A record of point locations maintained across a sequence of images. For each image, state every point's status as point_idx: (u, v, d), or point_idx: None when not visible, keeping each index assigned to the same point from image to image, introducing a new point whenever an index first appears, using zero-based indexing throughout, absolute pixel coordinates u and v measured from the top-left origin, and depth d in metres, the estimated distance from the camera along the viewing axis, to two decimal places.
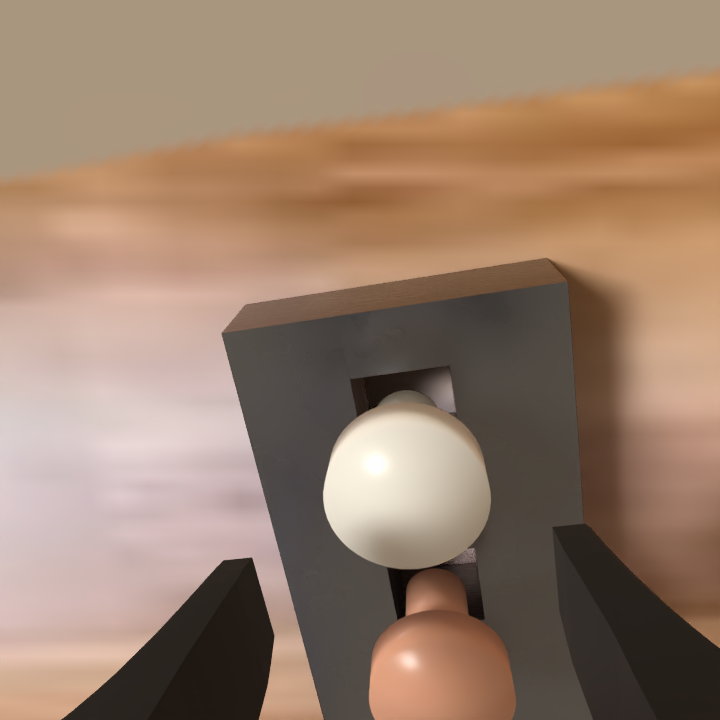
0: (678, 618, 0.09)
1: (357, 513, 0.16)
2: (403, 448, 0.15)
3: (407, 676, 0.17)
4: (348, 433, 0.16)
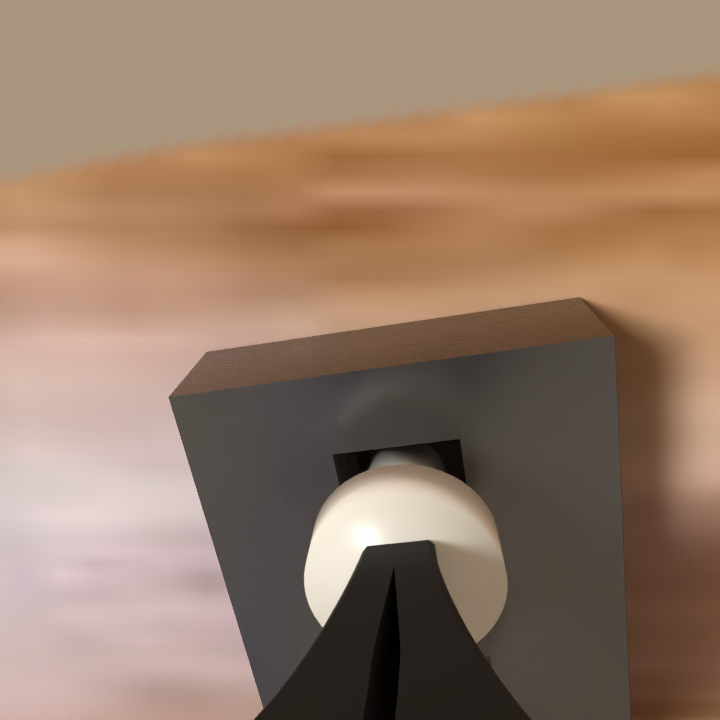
0: (464, 636, 0.09)
1: None
2: (401, 526, 0.12)
3: None
4: (334, 503, 0.13)
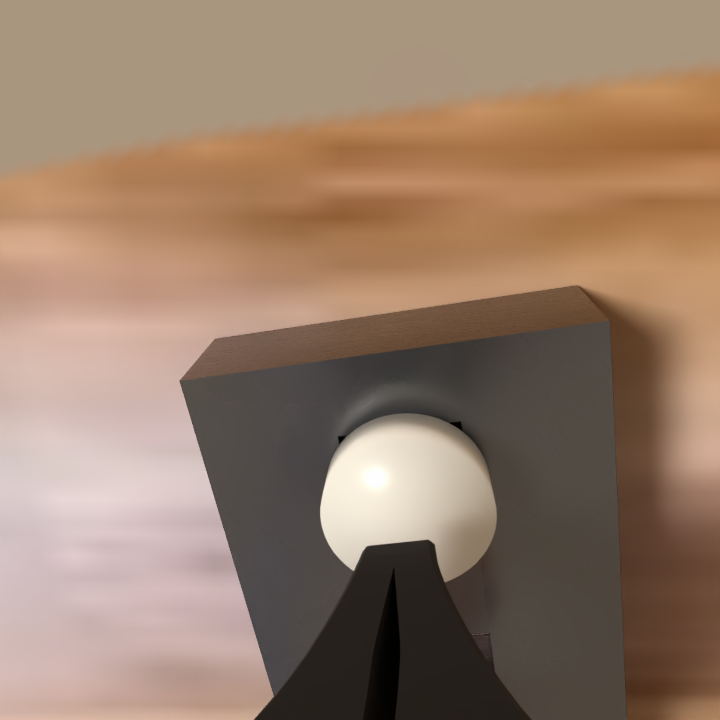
0: (464, 635, 0.09)
1: (356, 531, 0.15)
2: (404, 463, 0.14)
3: None
4: (346, 446, 0.15)
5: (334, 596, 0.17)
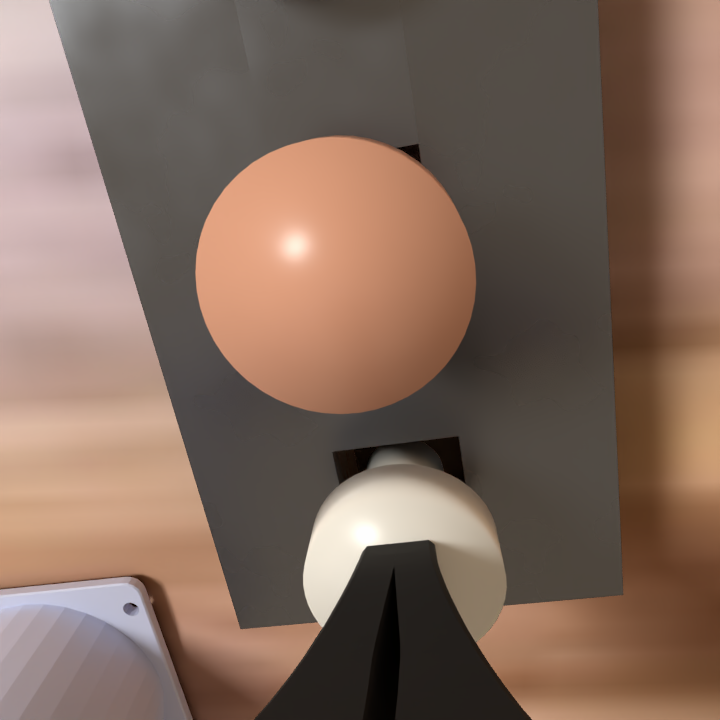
0: (464, 635, 0.09)
1: None
2: None
3: (264, 225, 0.09)
4: None
5: (202, 90, 0.13)
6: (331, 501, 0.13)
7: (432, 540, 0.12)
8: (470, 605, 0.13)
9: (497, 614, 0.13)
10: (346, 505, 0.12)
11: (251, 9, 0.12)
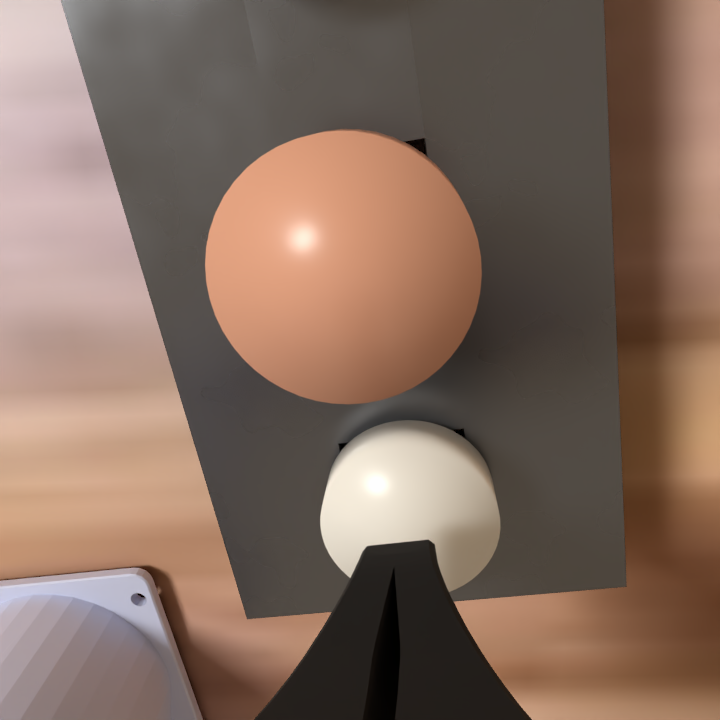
0: (464, 636, 0.09)
1: None
2: None
3: (272, 218, 0.09)
4: None
5: (210, 85, 0.13)
6: (346, 453, 0.15)
7: (435, 485, 0.14)
8: (468, 544, 0.14)
9: (492, 552, 0.14)
10: (359, 454, 0.14)
11: (259, 4, 0.12)
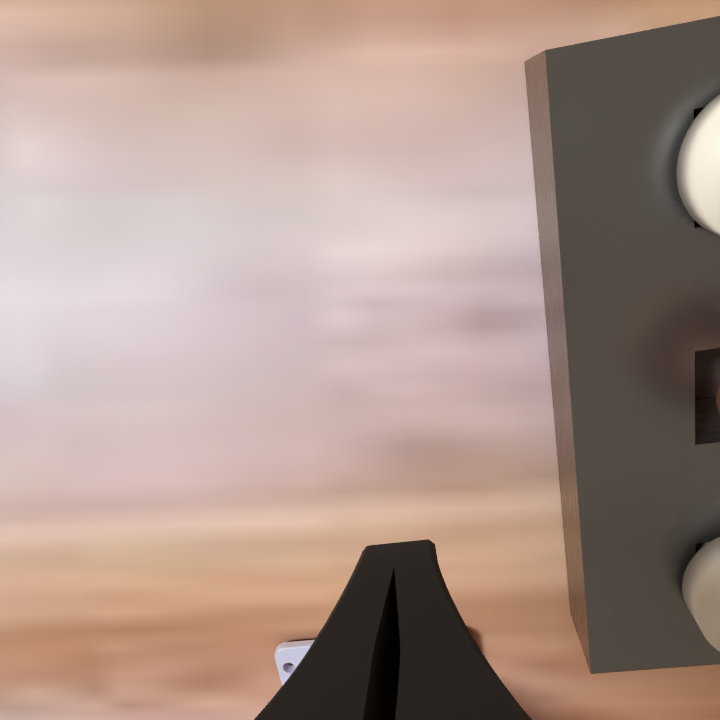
0: (464, 635, 0.09)
1: None
2: None
3: None
4: None
5: (656, 299, 0.18)
6: (713, 553, 0.20)
7: None
8: None
9: None
10: None
11: (704, 249, 0.17)
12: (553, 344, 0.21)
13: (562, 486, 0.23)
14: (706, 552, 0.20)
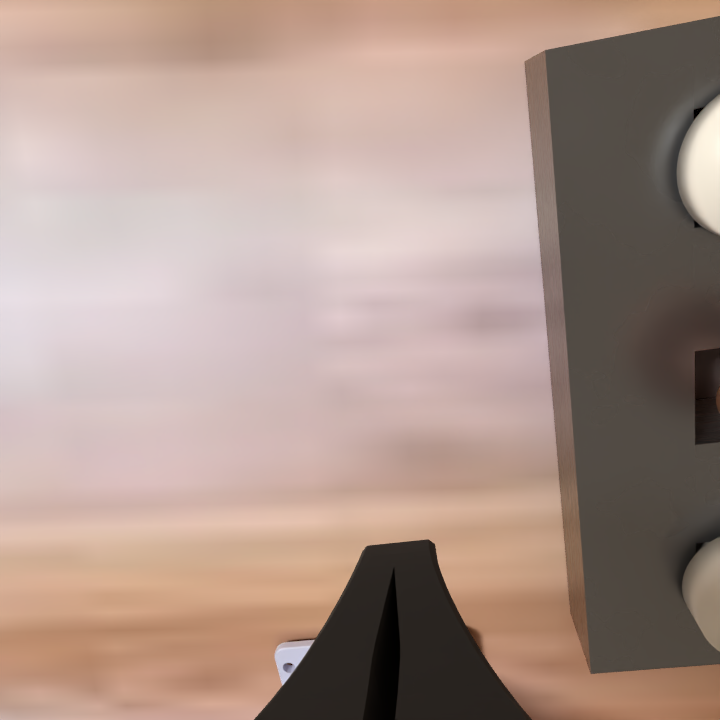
0: (464, 635, 0.09)
1: None
2: None
3: None
4: None
5: (656, 299, 0.18)
6: (713, 553, 0.20)
7: None
8: None
9: None
10: None
11: (704, 249, 0.17)
12: (553, 344, 0.21)
13: (562, 486, 0.23)
14: (706, 552, 0.20)
